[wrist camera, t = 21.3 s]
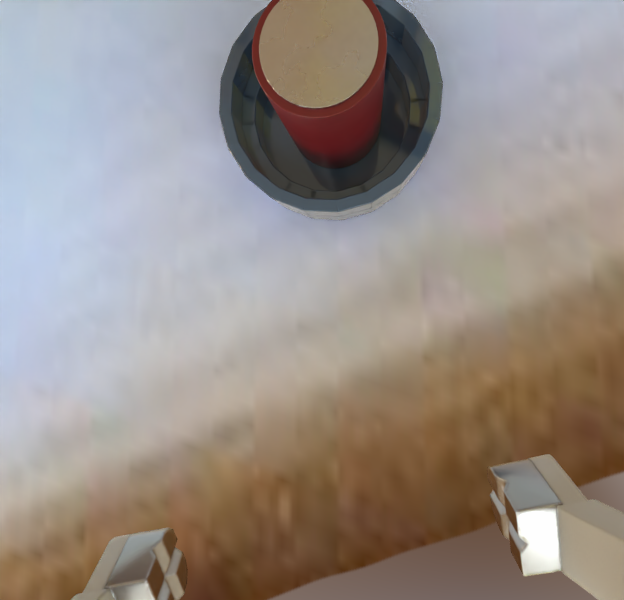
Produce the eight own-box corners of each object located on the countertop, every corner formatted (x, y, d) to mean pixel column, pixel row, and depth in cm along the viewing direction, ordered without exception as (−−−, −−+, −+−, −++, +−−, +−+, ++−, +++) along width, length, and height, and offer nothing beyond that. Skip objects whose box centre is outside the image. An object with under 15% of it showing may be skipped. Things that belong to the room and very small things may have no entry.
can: (321, 186, 33) (297, 143, 22) (274, 111, 33) (225, 30, 22) (397, 134, 32) (414, 62, 21) (349, 58, 32) (338, -56, 21)
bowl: (305, 255, 34) (294, 253, 29) (209, 102, 34) (179, 71, 29) (466, 151, 32) (486, 128, 27) (364, -11, 33) (363, -67, 27)
